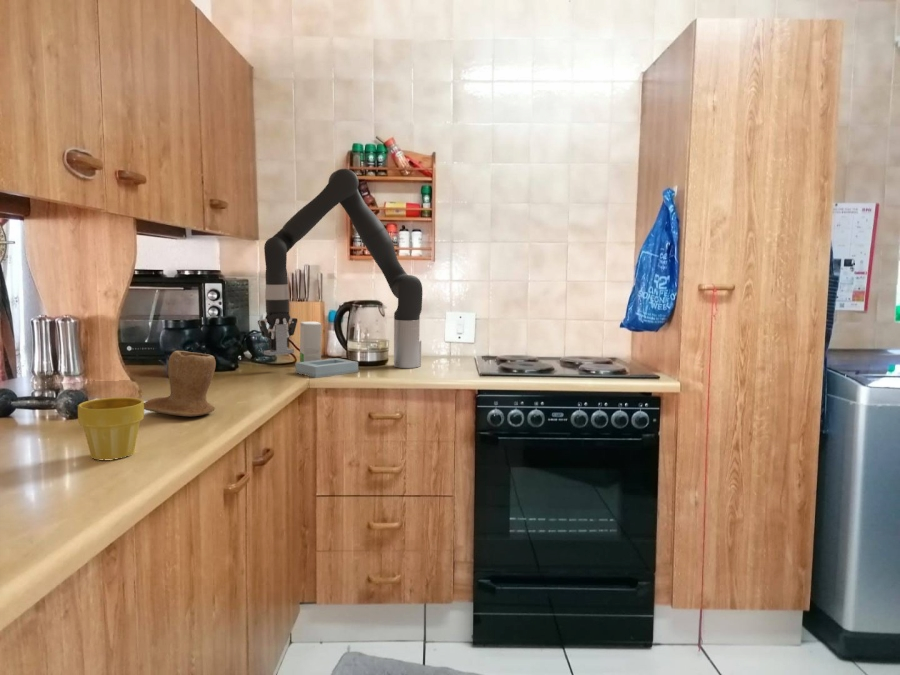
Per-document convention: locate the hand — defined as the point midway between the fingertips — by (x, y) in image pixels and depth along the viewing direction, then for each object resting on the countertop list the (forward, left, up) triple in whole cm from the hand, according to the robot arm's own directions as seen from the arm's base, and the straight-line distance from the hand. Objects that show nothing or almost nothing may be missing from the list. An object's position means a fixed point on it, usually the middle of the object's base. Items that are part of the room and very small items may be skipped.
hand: (278, 349), depth 195 cm
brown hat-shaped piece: (+46, +37, -8) cm, 60 cm away
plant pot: (+68, +60, -8) cm, 91 cm away
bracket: (0, 0, -2) cm, 2 cm away
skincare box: (-18, -8, -8) cm, 21 cm away
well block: (-12, +11, -8) cm, 18 cm away
